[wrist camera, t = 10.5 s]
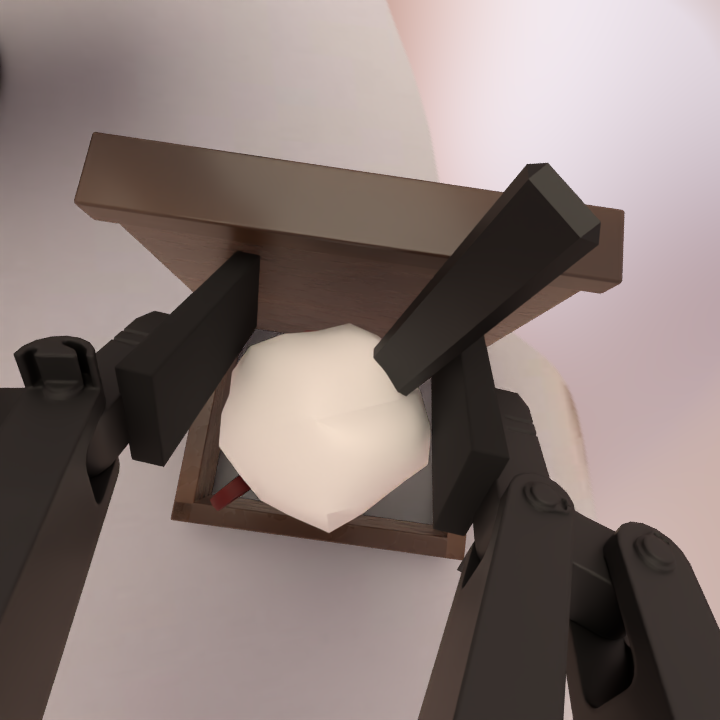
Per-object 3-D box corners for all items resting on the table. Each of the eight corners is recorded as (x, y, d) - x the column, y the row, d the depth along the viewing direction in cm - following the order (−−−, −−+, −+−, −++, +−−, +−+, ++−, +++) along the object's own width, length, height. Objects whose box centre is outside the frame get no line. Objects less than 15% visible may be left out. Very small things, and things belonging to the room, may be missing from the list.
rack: (233, 298, 26) (91, 129, 12) (470, 332, 27) (626, 209, 12) (191, 509, 24) (-48, 628, 10) (449, 545, 24) (609, 717, 10)
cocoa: (241, 526, 17) (-9, 752, 5) (211, 374, 18) (-58, 261, 6) (469, 466, 17) (726, 538, 6) (428, 322, 18) (574, 126, 7)
